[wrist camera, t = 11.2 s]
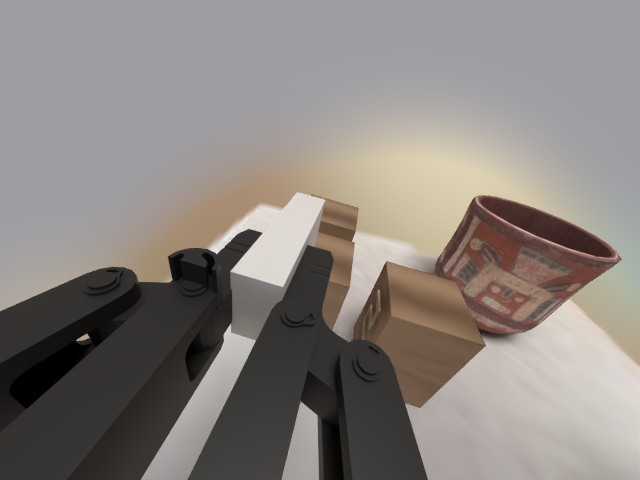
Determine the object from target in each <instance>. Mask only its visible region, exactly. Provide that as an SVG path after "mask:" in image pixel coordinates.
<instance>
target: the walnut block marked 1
mask: <svg viewBox="0 0 640 480" xmlns="http://www.w3.org/2000/svg"><path fill="white" fill-rule="evenodd" d="M311 196H313V197H317V198H320V199H324V200H325V204H324V209H323V213H322V217H321V222H320V226H319V230H318V232H320V233H324V234H327V235H330V236H334V237H337V238H341V239H344V240H347V241H351V242H352V240H353V237H354V234H355V231H356V224H357V216H358V208H357V207H353V206H350V205H346V204H343V203H340V202H336V201H333V200H329V199H326V198H322V197H319V196H315V195H311Z"/></svg>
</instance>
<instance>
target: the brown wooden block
mask: <svg viewBox="0 0 640 480" xmlns="http://www.w3.org/2000/svg"><path fill="white" fill-rule="evenodd" d="M354 245H355V243H354V242H351V241H347V240H344V239H341V238H337V237H334V236H330V235H327V234H324V233H320V232H318V235H317V239H316V243H315V246H314V247H317V248H320V249H324V250H327V251H331V253H332V256H333V259H334V262H333V266H332V270H331V274H330V278H329V282H328V287H327V291H326V295H325V299H324V303H323V307H322V315H323V319H324V321H325V323H326V325H327V326H328V327H329V328H330V329H331V330H332V329H333V327H334V324H335V322H336V319H337V317H338V314H339V312H340V309H341V307H342V304H343V302H344V300H345V297H346V295H347V292H348V290H349V287H350V279H351V271H352V262H353V254H354Z"/></svg>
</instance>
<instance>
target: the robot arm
mask: <svg viewBox="0 0 640 480" xmlns="http://www.w3.org/2000/svg"><path fill="white" fill-rule="evenodd" d="M324 204H325V200H324V199H320V198H317V197H313V196H309V195H306V194H302V193H298V192H297V194H296V195H295V196H294V197H293V198H292V199H291V201H290V202H289V203H288V204H287V205H286V206H285V208H284V209H283V210H282V211H281V212H280V213H279V215H278V216H277V217H276V218H275V219H274V221H273V222H272V223H271V224H270V225H269V226H268V228H267V229H266V230H265V231H264V232H263V233H261V232H257V231H254V230H250V229H248V230H246V231H243V232H241V233H239V234H237V235H236V236H235V237H234V238H233V239H232V240H231V242H229V243H228V244H227V245H226V246H225V248H223V249H222V250H221V251H220V252H219V253H218V254H216V253H214V252H212V251H210V250H208V249H202V248H190V249H184V250H181V251H177V252H175V253H173V254H171V255H170V256H168V259H169V264H170V269H171V274H172V279H173V280H172V281H171V282H170V283H155V282H153V283H152V282H138V279H137V276H136V275H135V273H134V272H133V271H132V270H130V269H126V268H124V267H109V268H103V269H98V270H96V271H92V272H90V273H87V274H85V275H82V276H80V277H77V278H75V279H73V280H71V281H68V282H66V283H64V284H62V285H59V286H57V287H55V288H52V289H50V290H48V291H46V292H43V293H41V294H39V295H37V296H34V297H32V298H30V299H27V300H25V301H23V302H20V303H18V304H16V305H14V306H12V307H9V308H7V309H5V310H2V311H0V480H141V478H142V476H143V475H144V473H145V472H146V470H147V468H148V467H149V465H150V463H151V462H152V460H153V459H154V457H155V455H156V454H157V452H158V450H159V449H160V447H161V446H162V444H163V442H164V441H165V439H166V437H167V436H168V434H169V433H170V431H171V429H172V428H173V426H174V424H175V423H176V421H177V420H178V418H179V416H180V415H181V413H182V411H183V410H184V408H185V406H186V405H187V403H188V402H189V400H190V398H191V397H192V395H193V393H194V392H195V390H196V389H197V387H198V385H199V384H200V382H201V380H202V379H203V377H204V376H205V374H206V372H207V371H208V369H209V367H210V366H211V364H212V363H213V361H214V359H215V358H216V356H217V354H218V353H219V351H220V350H221V347H222V345H223V342H224V337H223V335H224V333H225V331H226V330H227V328H228V327H229V325H230V324H231V333H235V334H238V335H241V336H244V337H247V338H250V339H254V340H256V342H255V344H254V346H253V348H252V350H251V352H250V354H249V356H248V358H247V361H246V363H245V365H244V367H243V369H242V371H241V373H240V375H239V377H238V379H237V381H236V383H235V385H234V387H233V389H232V391H231V393H230V395H229V397H228V399H227V401H226V403H225V405H224V407H223V409H222V411H221V413H220V415H219V417H218V419H217V421H216V423H215V425H214V427H213V429H212V431H211V433H210V436H209V438H208V440H207V442H206V444H205V446H204V448H203V450H202V452H201V454H200V456H199V458H198V460H197V462H196V464H195V466H194V468H193V470H192V472H191V474H190V476H189V478H188V480H281V478H282V474H283V470H284V466H285V462H286V458H287V454H288V450H289V446H290V441H291V437H292V433H293V429H294V425H295V421H296V417H297V413H298V409H299V405H300V401H301V402H302V403H304V404H305V405H306V406H307V407H308V408H310V409H311V410H312V411H313V412H314V413H316V414H317V415H318V450H319V480H428V479H427V475H426V472H425V469H424V466H423V462H422V459H421V456H420V452H419V449H418V446H417V442H416V439H415V436H414V432H413V429H412V426H411V423H410V419H409V416H408V413H407V409H406V406H405V403H404V399H403V396H402V393H401V390H400V386H399V383H398V380H397V376H396V373H395V370H394V367H393V365H392V363H391V360H390V358H389V356H388V355H387V354H386V353H385V352H384V351H383V350H382V349H381V348H380V347H379V346H377V345H376V344H374V343H372V342H370V341H366V340H362V339H360V340H352V341H351V342H347V341H346V340H344V339H343V338H341V337H340V336H338V335H337V334H335V333H334V332H333V331H332V330H331V329H330V328H329V327H328V326H327V325H326V323H325V321H324V319H323V315H322V307H323V303H324V299H325V295H326V291H327V287H328V282H329V278H330V274H331V270H332V266H333V262H334V259H333V256H332V253H331V251H327V250H324V249H320V248H317V247H314V246H315V243H316V239H317V235H318V230H319V226H320V222H321V217H322V213H323V209H324ZM85 334H88V336H89V337H90V338H89V339H86V340H83V341H76V340H77V339H78V338H80V337H82V336H83V335H85Z"/></svg>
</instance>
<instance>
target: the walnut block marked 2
mask: <svg viewBox="0 0 640 480" xmlns="http://www.w3.org/2000/svg"><path fill="white" fill-rule="evenodd" d="M360 339H362V340H366V341H370V342H372V343H374V344H376V345H377V346H379V347H380V348H381V349H382V350H383V351H384V352H385V353H386V354H387V355H388V356H389V358H390V360H391V363H392V365H393V367H394V370H395V373H396V376H397V380H398V383H399V386H400V390H401V393H402V396H403V399H404V403H407V404H410V405H413V406H416V407H419V408H420V407H421V406H422V405H423V404H424V403H426V402H427V401H428V400H429V399H430V398H431V397H432V396H433V395H434V394H435V393H436V392H437V391H438V390H439V389H440V388H441V387H442V386H444V385H445V384H446V383H447V382H448V381H449V380H450V379H451V378H452V377H453V376H454V375H455V374H456V373H457V372H458V371H459V370H460V369H462V368H463V367H464V366H465V365H466V364H467V363H468V362H469V361H470V360H471V359H472V358H473V357H474V356H475V355H476V354H477V353H478V352H480V351H481V350H482V349H483V348H484V347H485V346H486V345H485V342H484V340H483V338H482V336H481V334H480V332H479V330H478V328H477V326H476V324H475V321H474V319H473V317H472V315H471V313H470V311H469V309H468V307H467V305H466V303H465V300H464V298H463V296H462V294H461V292H460V290H459V288H458V286H457V284H456V282H454V281H451V280H447V279H444V278H441V277H437V276H434V275H431V274H427V273H424V272H421V271H418V270H414V269H411V268H408V267H404V266H401V265H398V264H394V263H391V262H388V261H386V263H385V265H384V267H383V269H382V271H381V273H380V275H379V277H378V279H377V281H376V284H375V286H374V288H373V290H372V292H371V294H370V296H369V298H368V300H367V302H366V304H365V306H364V308H363V310H362V312H361V314H360V316H359V318H358V320H357V322H356V325H355V329H354V340H360Z"/></svg>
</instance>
